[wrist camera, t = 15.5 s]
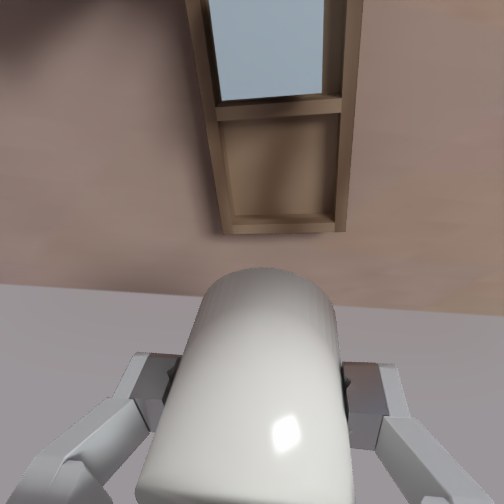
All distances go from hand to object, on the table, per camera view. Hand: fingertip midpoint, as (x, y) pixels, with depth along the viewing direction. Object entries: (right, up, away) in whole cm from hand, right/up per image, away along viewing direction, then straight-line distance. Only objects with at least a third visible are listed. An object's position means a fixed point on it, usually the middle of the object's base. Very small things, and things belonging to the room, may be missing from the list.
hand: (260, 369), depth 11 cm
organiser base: (+2, +14, +12) cm, 18 cm away
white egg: (0, +1, +2) cm, 2 cm away
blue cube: (+1, +16, +9) cm, 19 cm away
